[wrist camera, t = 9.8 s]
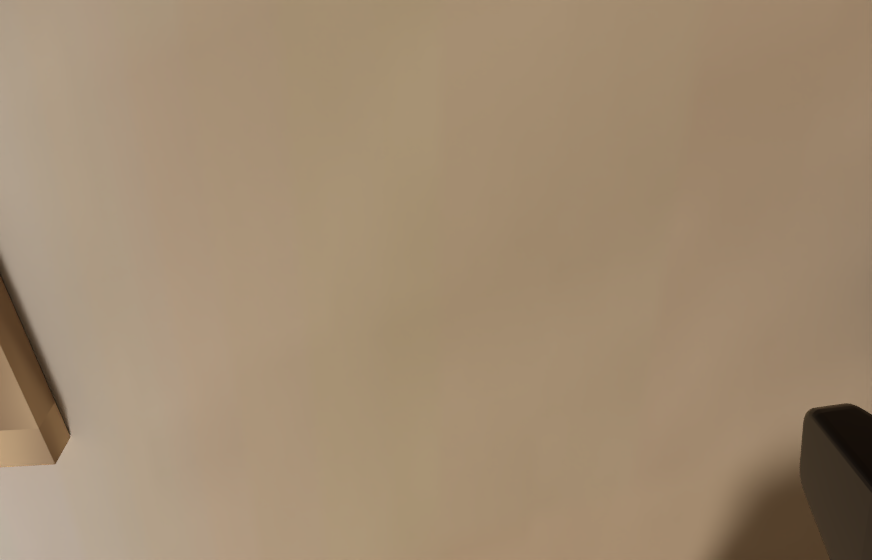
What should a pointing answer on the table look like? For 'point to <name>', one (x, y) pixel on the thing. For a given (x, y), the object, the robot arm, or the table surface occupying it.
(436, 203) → the table surface
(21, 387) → the square wooden frame
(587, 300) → the table surface
